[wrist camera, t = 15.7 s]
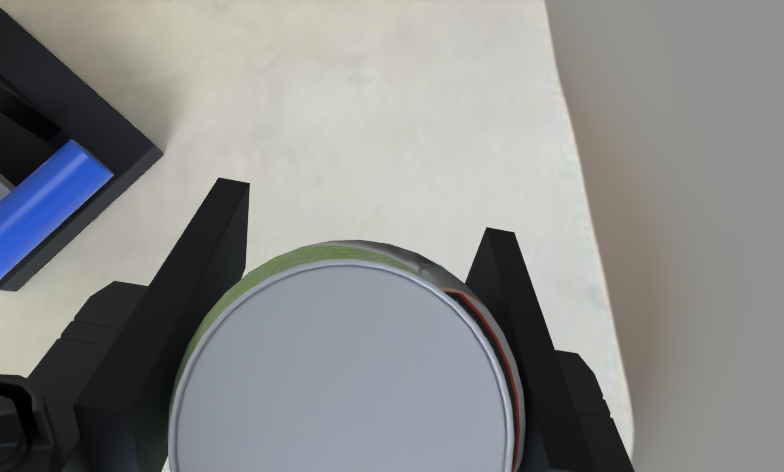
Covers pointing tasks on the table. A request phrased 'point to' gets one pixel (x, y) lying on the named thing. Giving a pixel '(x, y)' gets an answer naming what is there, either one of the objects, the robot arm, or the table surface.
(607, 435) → the robot arm
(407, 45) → the table surface
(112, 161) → the bracket
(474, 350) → the beverage can
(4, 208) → the lever
